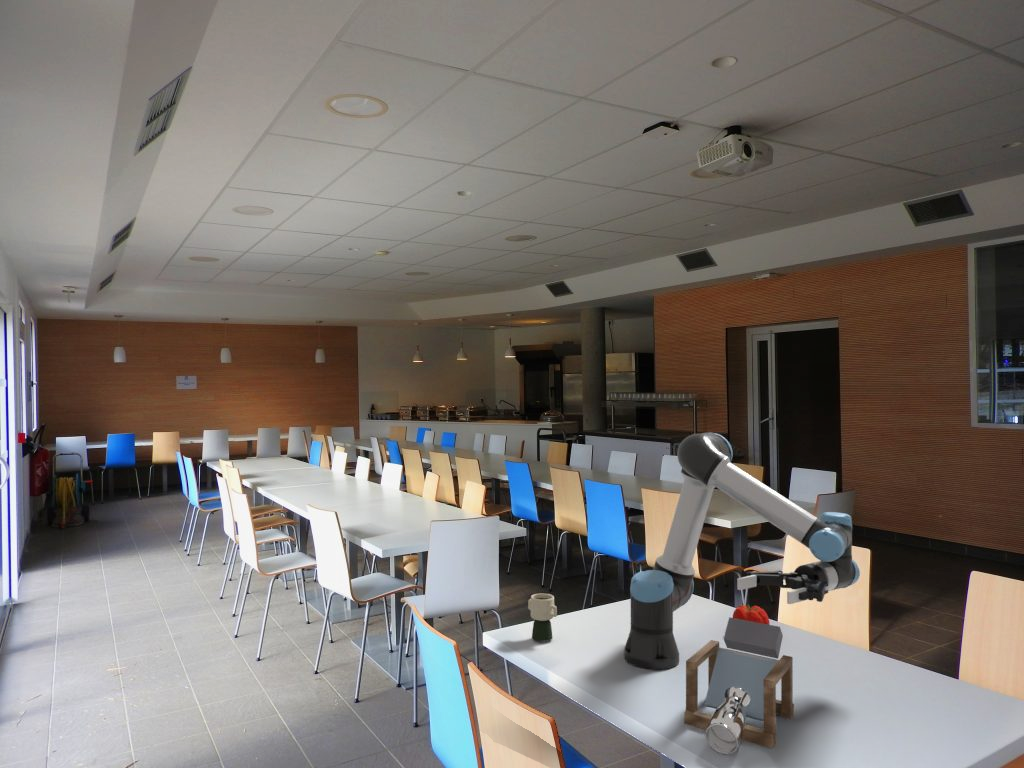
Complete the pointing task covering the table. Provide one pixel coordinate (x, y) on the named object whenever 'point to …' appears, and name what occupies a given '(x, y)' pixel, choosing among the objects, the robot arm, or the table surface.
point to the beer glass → (729, 721)
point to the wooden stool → (771, 704)
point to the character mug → (542, 615)
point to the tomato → (751, 614)
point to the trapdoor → (745, 663)
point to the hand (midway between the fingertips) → (762, 590)
